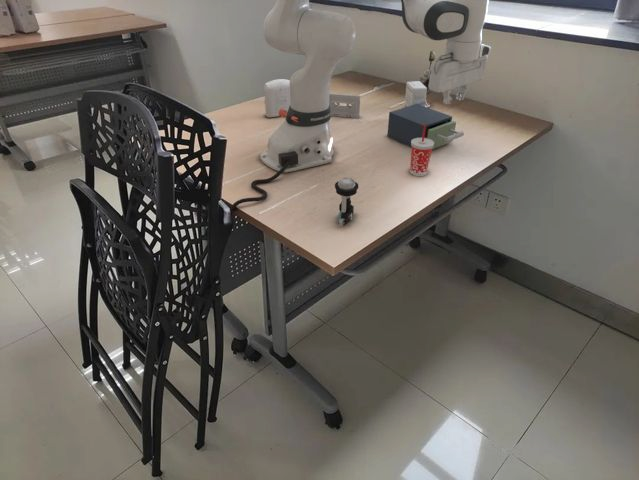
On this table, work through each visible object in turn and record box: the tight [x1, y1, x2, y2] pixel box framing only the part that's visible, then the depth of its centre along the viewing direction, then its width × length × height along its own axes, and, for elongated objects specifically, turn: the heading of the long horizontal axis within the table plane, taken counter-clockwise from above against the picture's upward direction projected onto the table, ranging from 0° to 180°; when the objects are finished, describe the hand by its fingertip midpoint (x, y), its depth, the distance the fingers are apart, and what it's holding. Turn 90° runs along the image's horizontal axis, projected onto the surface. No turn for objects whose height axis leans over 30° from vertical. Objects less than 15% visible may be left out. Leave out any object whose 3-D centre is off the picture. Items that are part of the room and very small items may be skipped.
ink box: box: [403, 80, 427, 108], centre depth 156 cm, size 9×5×12 cm, turn 8°
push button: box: [334, 177, 359, 227], centre depth 104 cm, size 7×5×10 cm
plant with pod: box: [417, 50, 436, 108], centre depth 165 cm, size 8×11×20 cm
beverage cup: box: [409, 124, 434, 177], centre depth 122 cm, size 6×6×14 cm
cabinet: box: [386, 104, 453, 148], centre depth 142 cm, size 15×13×8 cm
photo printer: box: [263, 78, 290, 119], centre depth 159 cm, size 10×4×12 cm, turn 116°
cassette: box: [329, 92, 361, 119], centre depth 159 cm, size 12×2×8 cm, turn 76°
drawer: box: [425, 120, 465, 150], centre depth 139 cm, size 18×11×6 cm, turn 38°
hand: (453, 101), depth 129 cm, fingers open, 4 cm apart
